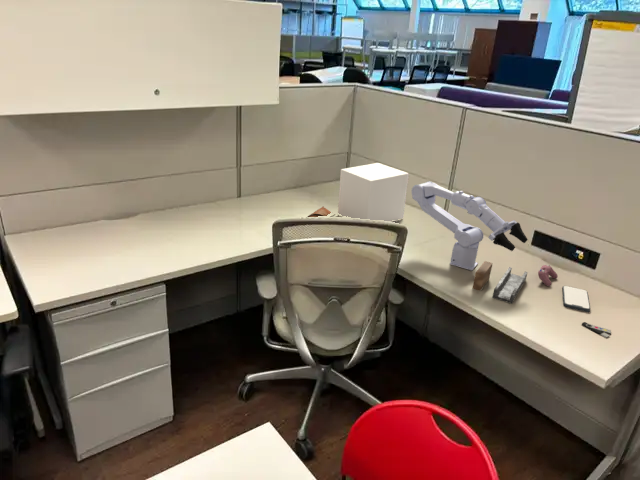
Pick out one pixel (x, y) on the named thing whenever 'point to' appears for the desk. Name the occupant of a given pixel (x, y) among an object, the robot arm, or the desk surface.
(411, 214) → the desk surface
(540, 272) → the video game controller
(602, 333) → the usb flash drive
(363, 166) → the cube
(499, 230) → the robot arm
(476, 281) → the brown rectangular block
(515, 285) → the rail
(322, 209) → the sunglasses case
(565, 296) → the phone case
